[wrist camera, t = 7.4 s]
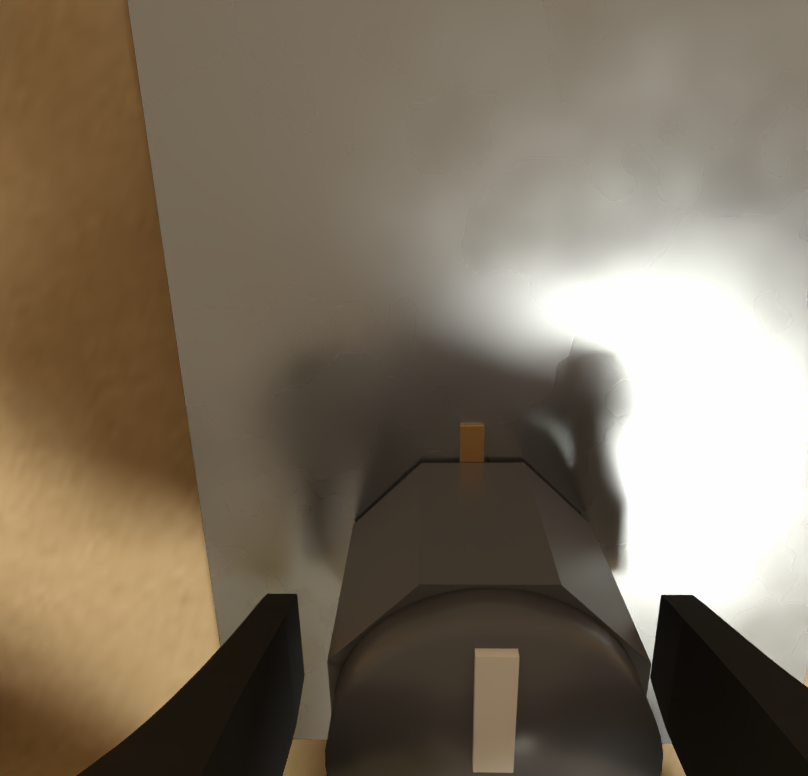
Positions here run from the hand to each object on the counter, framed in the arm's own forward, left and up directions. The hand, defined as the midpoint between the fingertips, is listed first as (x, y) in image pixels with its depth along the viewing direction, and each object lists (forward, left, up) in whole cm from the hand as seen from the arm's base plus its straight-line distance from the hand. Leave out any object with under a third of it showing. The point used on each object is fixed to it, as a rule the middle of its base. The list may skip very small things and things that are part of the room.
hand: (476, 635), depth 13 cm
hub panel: (-1, -4, -3) cm, 5 cm away
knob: (0, 0, -2) cm, 2 cm away
